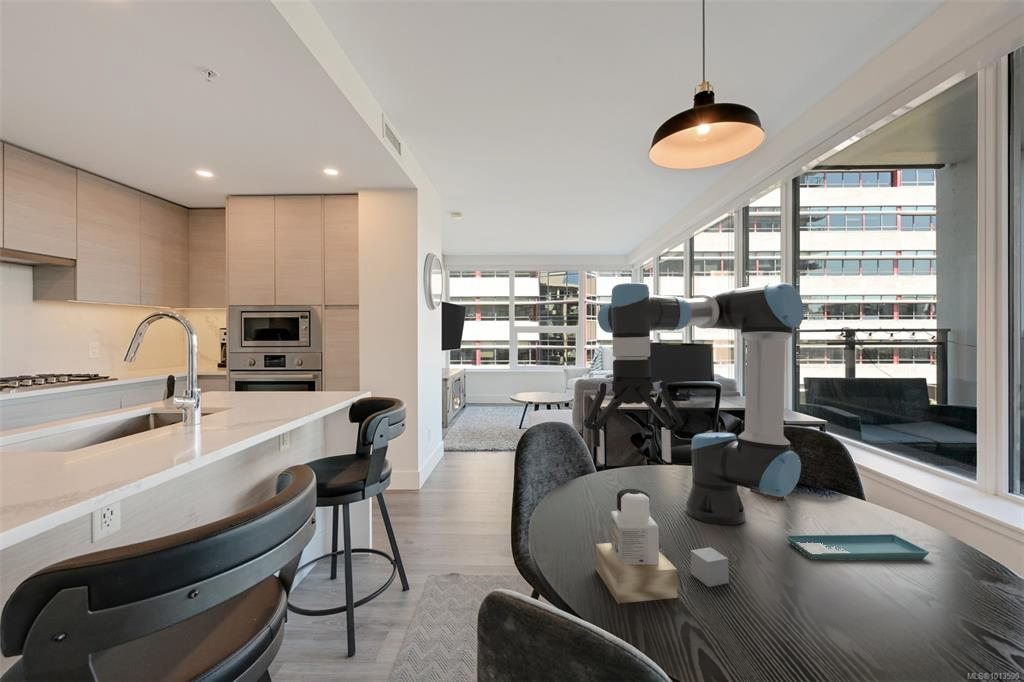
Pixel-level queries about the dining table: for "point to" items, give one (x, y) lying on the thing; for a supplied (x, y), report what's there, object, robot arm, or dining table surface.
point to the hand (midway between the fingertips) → (633, 461)
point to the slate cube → (709, 566)
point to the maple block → (635, 577)
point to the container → (634, 529)
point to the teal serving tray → (862, 547)
